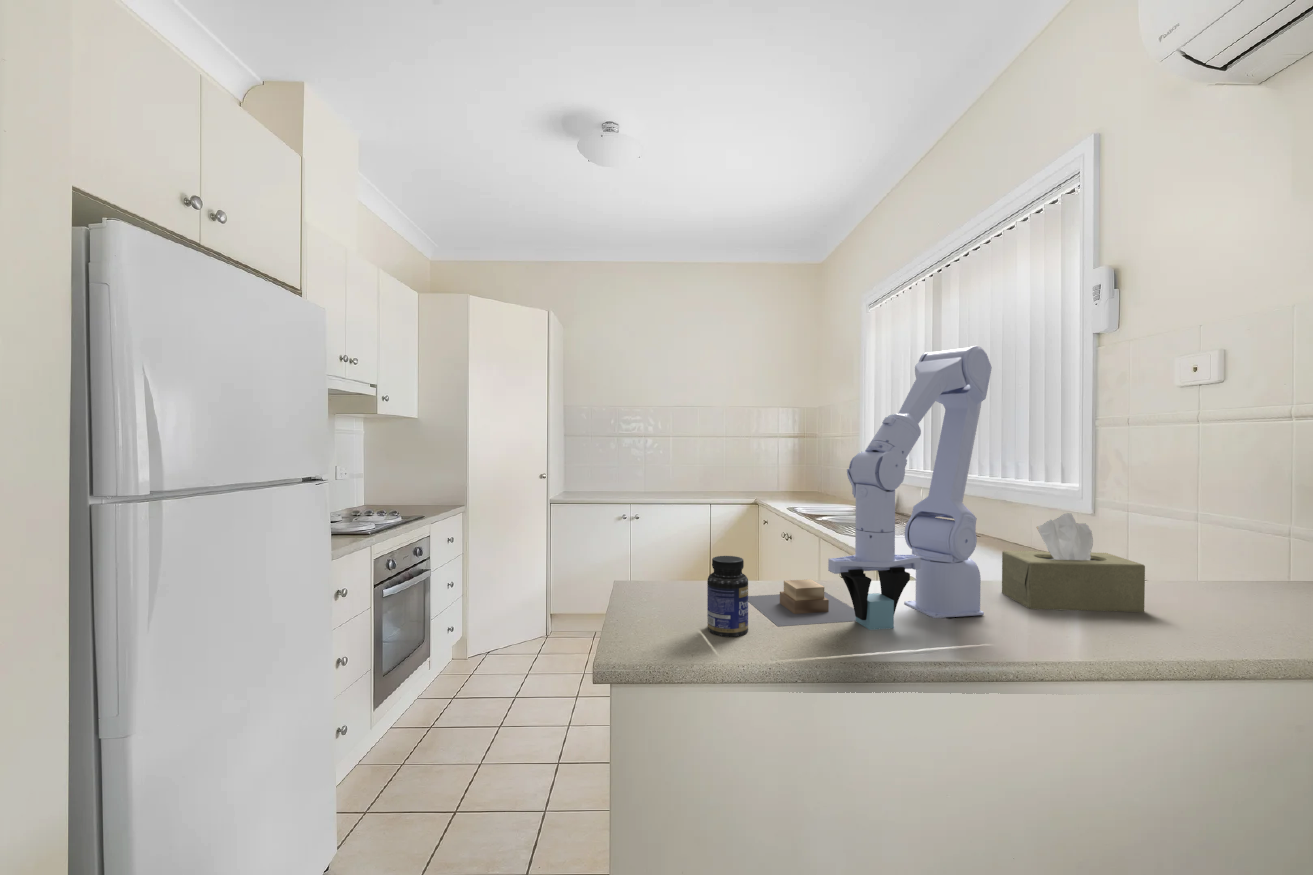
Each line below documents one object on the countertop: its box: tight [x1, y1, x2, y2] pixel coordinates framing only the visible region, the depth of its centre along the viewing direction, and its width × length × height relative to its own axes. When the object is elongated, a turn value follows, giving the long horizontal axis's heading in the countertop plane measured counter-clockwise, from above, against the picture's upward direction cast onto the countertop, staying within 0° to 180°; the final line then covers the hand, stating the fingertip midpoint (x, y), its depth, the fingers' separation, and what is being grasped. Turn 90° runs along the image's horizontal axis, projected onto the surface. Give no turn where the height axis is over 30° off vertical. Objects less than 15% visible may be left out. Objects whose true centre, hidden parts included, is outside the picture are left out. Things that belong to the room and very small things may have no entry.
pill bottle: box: [706, 555, 749, 638], centre depth 88 cm, size 6×6×11 cm
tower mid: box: [783, 578, 825, 601], centre depth 99 cm, size 5×5×2 cm
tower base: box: [779, 590, 829, 614], centre depth 99 cm, size 6×6×2 cm
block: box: [855, 592, 895, 631], centre depth 90 cm, size 4×4×4 cm
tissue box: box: [1001, 512, 1146, 613], centre depth 103 cm, size 19×10×16 cm, turn 84°
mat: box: [748, 591, 856, 628], centre depth 99 cm, size 16×16×1 cm
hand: (874, 617), depth 90 cm, fingers closed on block, 4 cm apart
